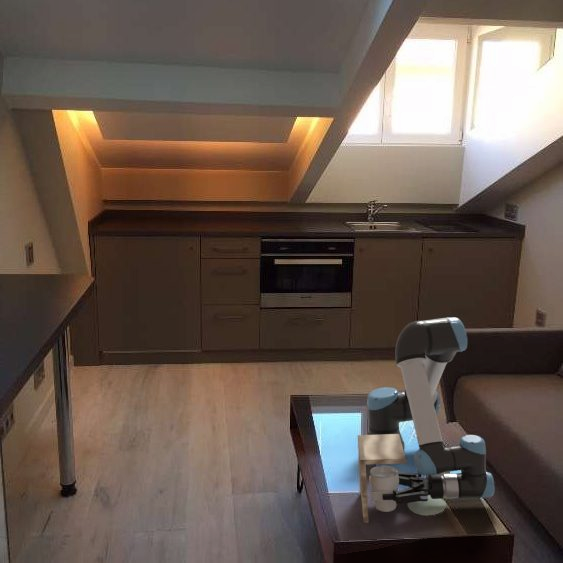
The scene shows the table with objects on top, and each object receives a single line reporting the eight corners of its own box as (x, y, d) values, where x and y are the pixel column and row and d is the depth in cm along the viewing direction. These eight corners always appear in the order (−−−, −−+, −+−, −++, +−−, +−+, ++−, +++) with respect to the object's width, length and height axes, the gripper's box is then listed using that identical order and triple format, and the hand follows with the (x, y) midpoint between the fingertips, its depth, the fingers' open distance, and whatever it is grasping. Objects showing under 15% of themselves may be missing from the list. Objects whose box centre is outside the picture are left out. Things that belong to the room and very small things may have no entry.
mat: (418, 492, 206) (418, 491, 206) (452, 502, 198) (452, 501, 198) (400, 508, 197) (400, 507, 197) (435, 520, 189) (435, 518, 189)
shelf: (401, 492, 207) (399, 433, 203) (408, 521, 189) (405, 458, 186) (360, 493, 208) (357, 435, 205) (363, 522, 190) (360, 459, 187)
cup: (399, 514, 193) (398, 478, 191) (370, 513, 195) (368, 478, 193) (400, 499, 202) (398, 465, 200) (372, 498, 204) (370, 464, 202)
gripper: (449, 515, 186) (373, 517, 188) (436, 480, 207) (368, 482, 209) (448, 492, 185) (372, 494, 186) (436, 459, 206) (367, 461, 208)
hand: (370, 488), depth 198 cm, fingers closed on cup, 9 cm apart
